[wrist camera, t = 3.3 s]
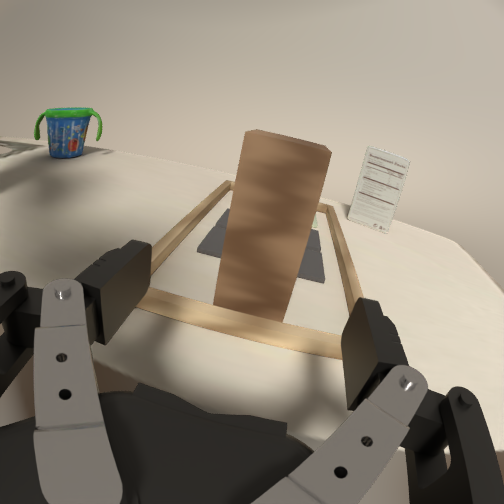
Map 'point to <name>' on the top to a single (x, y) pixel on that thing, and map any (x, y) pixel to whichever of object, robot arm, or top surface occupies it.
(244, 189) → the walnut block
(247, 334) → the tray
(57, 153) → the snack cup
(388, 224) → the supplement box
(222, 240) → the trap squares
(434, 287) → the top surface
